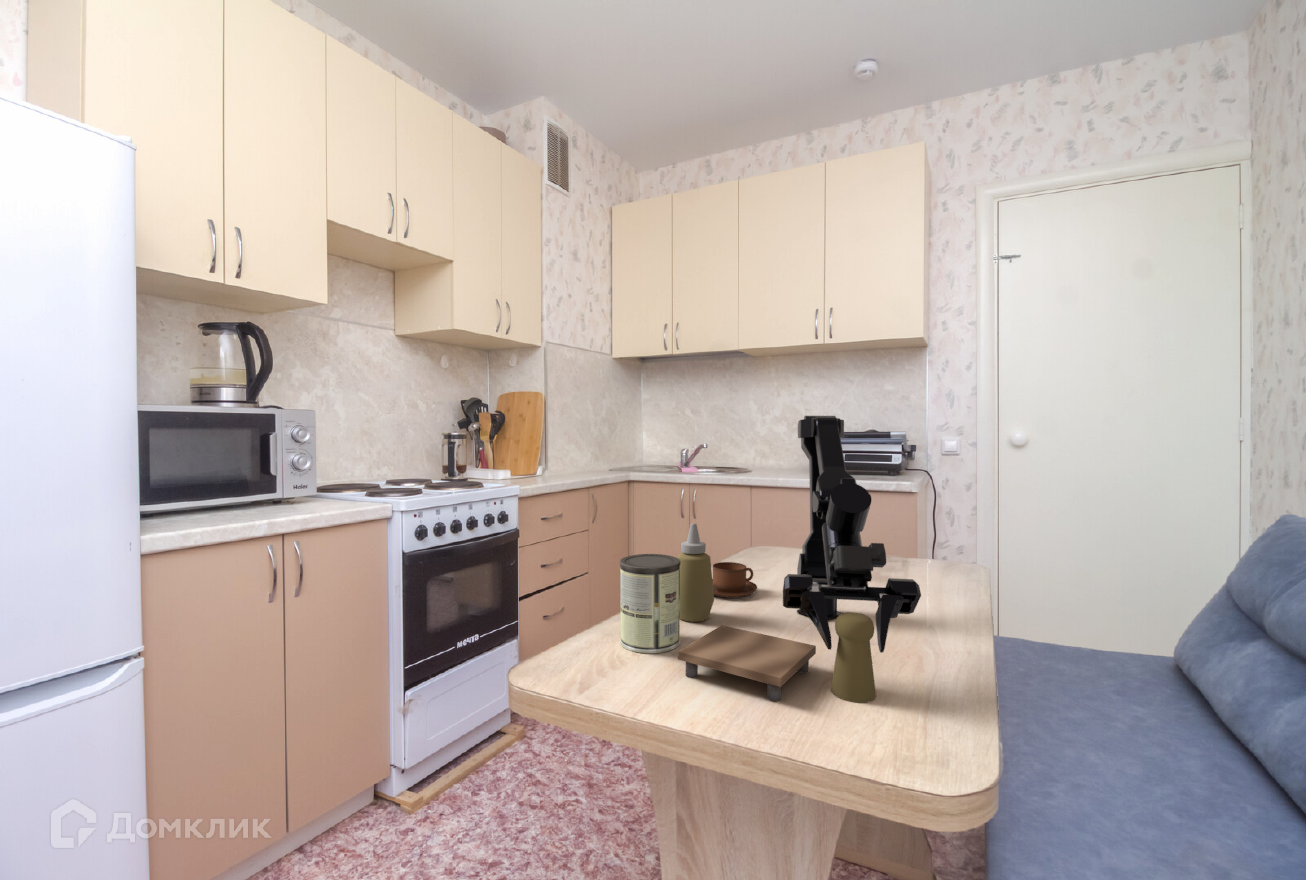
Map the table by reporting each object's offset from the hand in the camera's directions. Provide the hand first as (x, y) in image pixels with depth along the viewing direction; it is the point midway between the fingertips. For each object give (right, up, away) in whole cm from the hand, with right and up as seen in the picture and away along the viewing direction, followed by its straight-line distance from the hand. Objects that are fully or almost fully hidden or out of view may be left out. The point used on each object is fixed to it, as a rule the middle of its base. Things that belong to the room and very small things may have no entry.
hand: (855, 649), depth 83 cm
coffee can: (-28, -6, +20) cm, 35 cm away
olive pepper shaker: (0, -7, +2) cm, 7 cm away
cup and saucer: (-11, -5, +50) cm, 51 cm away
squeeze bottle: (-20, -5, +33) cm, 39 cm away
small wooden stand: (-14, -6, +8) cm, 17 cm away
